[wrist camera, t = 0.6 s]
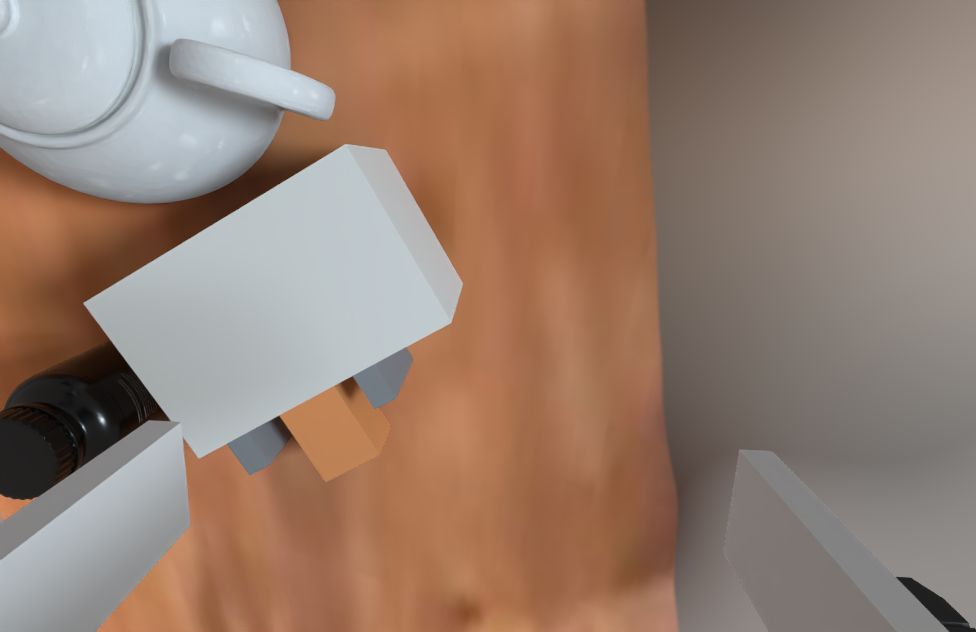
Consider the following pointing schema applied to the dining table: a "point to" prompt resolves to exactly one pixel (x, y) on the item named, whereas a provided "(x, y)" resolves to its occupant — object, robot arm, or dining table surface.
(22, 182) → the dining table surface
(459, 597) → the dining table surface
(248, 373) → the box
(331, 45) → the dining table surface
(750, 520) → the robot arm
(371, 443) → the block
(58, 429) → the supplement bottle
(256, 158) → the teapot
